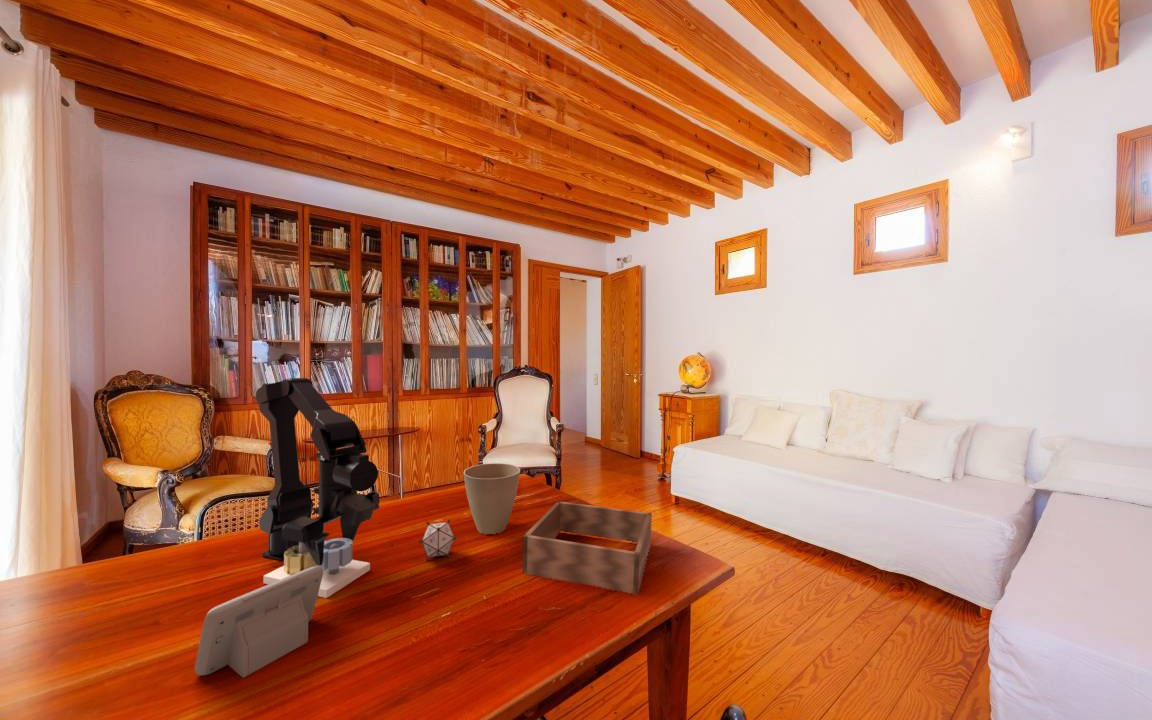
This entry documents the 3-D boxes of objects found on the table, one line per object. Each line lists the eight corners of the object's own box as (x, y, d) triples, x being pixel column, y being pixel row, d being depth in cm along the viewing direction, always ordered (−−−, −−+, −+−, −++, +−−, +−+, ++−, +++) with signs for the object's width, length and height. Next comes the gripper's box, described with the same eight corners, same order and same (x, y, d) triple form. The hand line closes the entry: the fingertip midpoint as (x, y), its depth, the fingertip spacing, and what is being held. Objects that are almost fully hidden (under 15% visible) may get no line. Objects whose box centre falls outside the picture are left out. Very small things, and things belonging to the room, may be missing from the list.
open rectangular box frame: (522, 583, 90) (523, 536, 90) (556, 538, 112) (557, 501, 112) (637, 605, 83) (639, 554, 83) (650, 553, 105) (651, 513, 105)
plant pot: (492, 514, 123) (493, 460, 123) (530, 527, 114) (531, 469, 114) (450, 530, 111) (451, 471, 110) (489, 547, 102) (490, 482, 102)
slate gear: (307, 566, 84) (307, 549, 84) (334, 552, 90) (335, 536, 90) (333, 572, 82) (333, 554, 82) (359, 557, 88) (359, 540, 88)
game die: (441, 575, 95) (442, 553, 90) (410, 558, 97) (409, 535, 91) (463, 542, 103) (466, 520, 97) (434, 527, 104) (435, 503, 98)
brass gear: (277, 574, 85) (277, 557, 84) (295, 558, 91) (296, 542, 91) (312, 573, 85) (312, 556, 85) (327, 557, 92) (328, 541, 92)
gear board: (263, 583, 84) (263, 546, 84) (312, 558, 95) (312, 525, 94) (326, 598, 80) (326, 559, 79) (369, 569, 90) (370, 535, 90)
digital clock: (313, 615, 74) (314, 556, 74) (332, 638, 69) (333, 574, 68) (190, 664, 62) (191, 594, 62) (200, 698, 56) (201, 620, 56)
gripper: (327, 501, 74) (326, 588, 75) (399, 473, 92) (398, 543, 93) (280, 493, 78) (278, 577, 78) (358, 468, 96) (357, 536, 96)
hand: (333, 556), depth 86 cm, fingers closed on slate gear, 7 cm apart
